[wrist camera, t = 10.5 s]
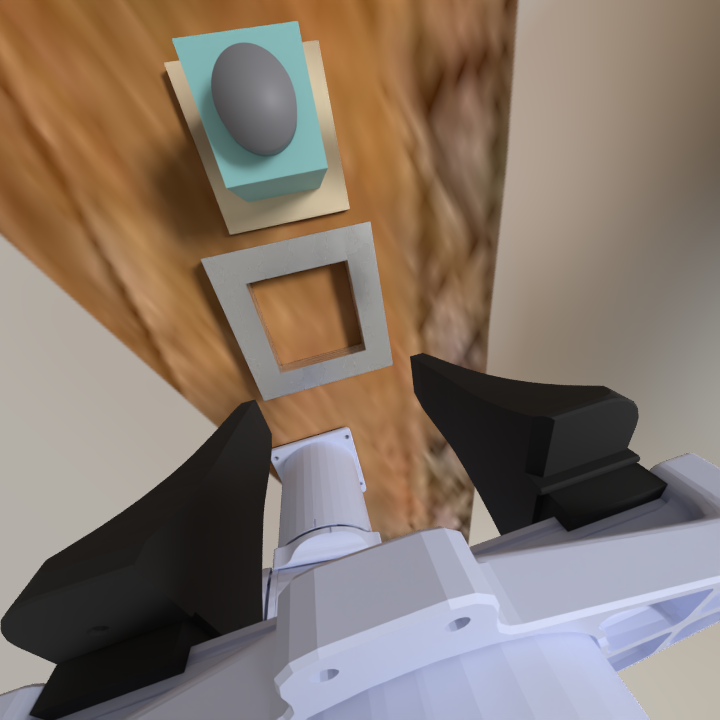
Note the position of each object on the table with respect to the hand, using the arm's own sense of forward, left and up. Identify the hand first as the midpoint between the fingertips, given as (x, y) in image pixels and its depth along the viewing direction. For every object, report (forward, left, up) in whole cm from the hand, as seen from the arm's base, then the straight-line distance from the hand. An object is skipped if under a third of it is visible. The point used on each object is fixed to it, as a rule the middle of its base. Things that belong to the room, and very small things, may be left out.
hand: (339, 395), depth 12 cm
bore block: (+1, +1, -10) cm, 10 cm away
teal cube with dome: (+11, 0, -10) cm, 15 cm away
